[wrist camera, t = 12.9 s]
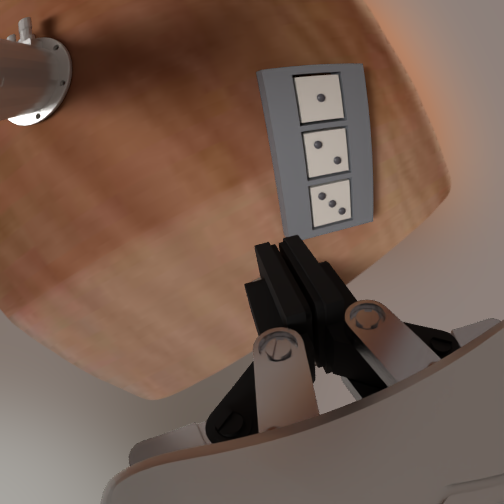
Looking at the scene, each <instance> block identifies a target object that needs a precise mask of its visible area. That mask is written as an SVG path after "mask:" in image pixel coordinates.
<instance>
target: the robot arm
mask: <svg viewBox="0 0 504 504" xmlns="http://www.w3.org/2000/svg"><path fill="white" fill-rule="evenodd" d="M18 27H19V34H20V40H19V41H18V42H16V35H15V34H13V35H10V36H8V37H7V40H5V39H0V121H1V120H5V119H8V120H9V121H11V122H12V123H14V124H17V125H22V126H27V125H33V124H36V123H39V122H41V121H43V120H45V119H46V118H47V117H49V116H50V115H51V114H52V113H53V112H54V111H55V110H56V109H57V108H58V107H59V105H60V104H61V103H62V101H63V99H64V97H65V95H66V93H67V91H68V88H69V86H70V81H71V77H72V61H71V57H70V54H69V52H68V50H67V48H66V47H65V46H64V45H63V44H62V43H61V42H59V41H57V40H55V39H52V38H46V37H43V38H36V39H35V35H34V34H32V23H31V17H26V18H24V19H22V20H20V21H19V23H18ZM58 47H59V48H58ZM57 49H58V50H57ZM64 82H65V85H64ZM40 114H41V117H40ZM279 249H280V252H279V250H278V248H277V246H276V245H275V244H274V245H270V243H269V242H267V243H263V244H259V245H255V252H256V257H257V262H258V267H259V272H260V276H261V280H257V281H254V282H250V283H246V284H244V285H245V289H246V293H247V297H248V301H249V305H250V309H251V312H252V316H253V319H254V322H255V326H256V329H257V332H258V337H257V339H256V340H255V342H254V344H253V360H254V361H253V362H252V363H251V365H250V366H249V367H248V368H247V370H246V371H245V372H244V374H243V375H242V376H241V377H240V379H239V380H238V381H237V382H236V384H235V385H234V386H233V387H232V389H231V390H230V391H229V392H228V394H227V395H226V396H225V397H224V399H223V400H222V401H221V402H220V403H219V405H218V406H217V407H216V408H215V409H214V411H213V412H212V413H211V414H210V416H209V418H208V419H207V421H204V422H202V423H199V424H196V423H195V422H194V423H192V424H189V425H186V426H184V427H181V428H178V429H176V430H173V431H170V432H167V433H164V434H162V435H159V436H156V437H153V438H150V439H147V440H143V441H141V442H139V443H137V444H136V445H135V446H134V447H133V448H132V449H131V451H130V454H129V464H130V467H128V468H126V469H124V470H122V471H121V472H120V473H118V474H116V475H115V476H114V477H113V478H112V479H111V480H110V481H109V482H108V483H107V485H106V487H105V489H104V491H103V495H102V499H101V504H504V320H502V321H500V320H498V319H494V318H491V319H486V320H483V321H480V322H477V323H474V324H471V325H467V326H464V327H461V328H457V329H454V330H452V331H451V333H448V332H445V331H442V330H437V329H433V328H428V327H423V326H419V325H414V324H410V323H405V322H402V321H401V320H400V319H399V318H398V317H397V316H395V314H393V313H392V312H391V311H390V310H389V309H388V308H387V307H386V306H385V305H383V304H382V303H380V302H377V301H374V300H360V301H357V300H356V299H355V297H354V296H353V295H352V293H351V292H350V291H349V289H348V288H347V287H346V285H345V284H344V283H343V281H342V280H341V279H340V277H339V276H338V275H337V273H336V272H335V271H334V269H333V268H332V267H331V265H330V264H329V263H328V262H326V261H325V262H321V263H318V261H317V260H316V259H315V257H314V256H313V254H312V253H311V252H310V250H309V249H308V248H307V246H306V245H305V244H304V242H303V241H302V239H301V238H300V237H299V235H293V236H289V237H286V238H283V242H281V243H279ZM315 363H316V365H317V367H319V368H320V367H323V368H324V370H325V372H326V374H327V373H330V372H333V374H336V375H340V376H341V379H342V381H343V383H344V384H345V386H346V387H347V389H348V390H349V391H350V393H351V394H352V395H353V397H354V398H355V399H356V402H353V403H351V404H348V405H346V406H343V407H340V408H338V409H335V410H332V411H330V412H327V413H324V414H321V415H320V414H319V410H318V405H317V400H316V396H315V391H314V387H313V383H314V381H315Z"/></svg>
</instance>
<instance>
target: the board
mask: <svg viewBox="0 0 504 504" xmlns="http://www.w3.org/2000/svg"><path fill="white" fill-rule="evenodd" d="M316 73H331V75H338V77H339V84H340V91H341V98H342V106H343V114H344V118H336V119H327V120H319V121H312V122H305V123H300V121H299V115H298V109H297V102H296V96H295V90H294V85H293V79H292V76H293V75H303V74H316ZM256 74H257V79H258V84H259V90H260V95H261V100H262V105H263V111H264V116H265V122H266V127H267V133H268V138H269V144H270V150H271V156H272V162H273V168H274V174H275V180H276V186H277V192H278V199H279V205H280V211H281V218H282V225H283V232H284V235H285V237H289V236H293V235H299V237H300V238H301V239H302V240H304V239H308V238H312V237H316V236H319V235H323V234H327V233H331V232H334V231H338V230H342V229H346V228H349V227H353V226H357V225H361V224H364V223H368V222H372V221H373V165H372V145H371V131H370V119H369V108H368V99H367V91H366V83H365V76H364V69H363V64H319V65H304V66H292V67H282V68H273V69H265V70H260V71H258V72H256ZM330 127H342V128H345V132H346V142H347V154H348V168H349V170H346V171H341V172H336V173H330V174H325V175H320V176H315V177H311V178H309V177H308V176H307V173H306V165H305V157H304V149H303V142H302V135H301V132H303V131H309V130H316V129H323V128H330ZM345 178H347V179H348V180H349V184H350V207H351V218H348V219H344V220H340V221H336V222H332V223H328V224H324V225H320V226H317V227H314V226H313V225H312V219H311V209H310V199H309V190H308V186H312V185H316V184H321V183H326V182H331V181H335V180H340V179H345Z"/></svg>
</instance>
